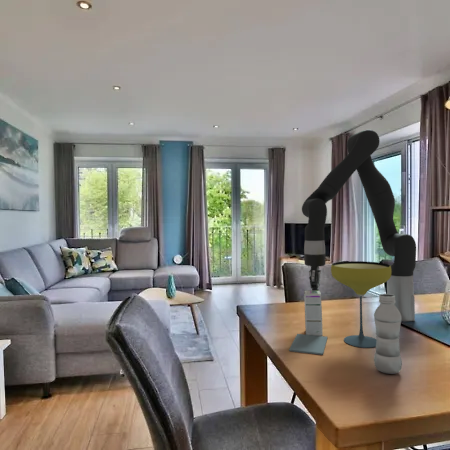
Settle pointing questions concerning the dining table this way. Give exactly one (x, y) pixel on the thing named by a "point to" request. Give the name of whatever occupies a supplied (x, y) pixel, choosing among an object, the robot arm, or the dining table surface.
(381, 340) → the plastic bottle
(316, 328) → the syrup box
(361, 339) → the cocktail glass
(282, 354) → the dining table surface
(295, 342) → the mat
